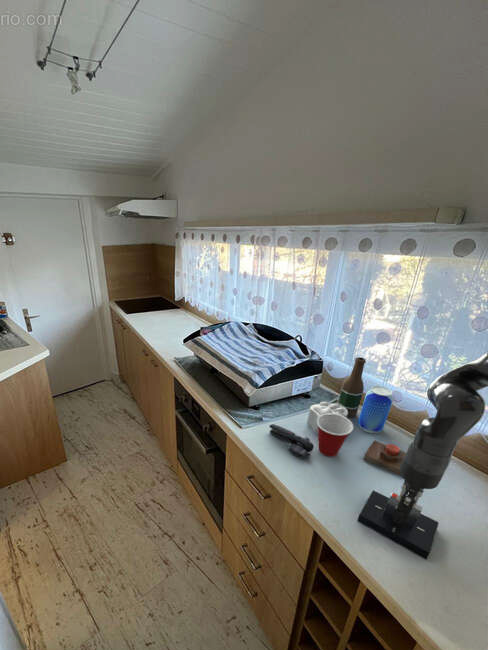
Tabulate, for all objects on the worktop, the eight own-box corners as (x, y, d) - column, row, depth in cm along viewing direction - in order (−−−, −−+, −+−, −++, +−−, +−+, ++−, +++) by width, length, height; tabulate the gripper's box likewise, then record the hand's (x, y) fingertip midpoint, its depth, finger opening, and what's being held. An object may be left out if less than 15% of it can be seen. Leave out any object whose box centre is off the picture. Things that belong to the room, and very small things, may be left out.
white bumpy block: (303, 420, 119) (307, 401, 115) (333, 416, 121) (337, 397, 117) (319, 437, 110) (324, 417, 106) (350, 432, 112) (356, 412, 108)
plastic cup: (304, 451, 103) (310, 422, 98) (319, 437, 110) (326, 409, 104) (335, 467, 96) (344, 437, 91) (350, 452, 103) (359, 422, 97)
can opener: (316, 454, 102) (319, 441, 99) (302, 462, 98) (305, 449, 96) (276, 428, 115) (278, 415, 112) (263, 434, 112) (264, 421, 109)
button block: (413, 461, 98) (417, 452, 96) (405, 478, 92) (410, 468, 90) (372, 445, 106) (375, 435, 104) (363, 459, 99) (366, 450, 97)
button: (399, 451, 97) (401, 447, 96) (396, 457, 95) (398, 453, 94) (386, 446, 99) (388, 442, 98) (383, 452, 97) (385, 447, 96)
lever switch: (435, 528, 77) (439, 521, 76) (426, 559, 70) (430, 552, 69) (370, 496, 86) (373, 489, 85) (357, 520, 79) (359, 513, 78)
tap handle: (414, 523, 75) (423, 506, 72) (413, 528, 74) (421, 510, 71) (385, 508, 79) (392, 491, 76) (383, 512, 78) (390, 495, 75)
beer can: (383, 425, 115) (396, 388, 108) (380, 437, 109) (394, 399, 102) (358, 418, 120) (369, 382, 112) (355, 429, 113) (366, 392, 106)
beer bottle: (331, 412, 123) (345, 358, 112) (340, 405, 128) (354, 352, 116) (351, 421, 118) (367, 364, 107) (359, 413, 123) (376, 358, 111)
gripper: (439, 489, 61) (412, 541, 69) (450, 454, 70) (425, 503, 78) (397, 470, 66) (375, 521, 74) (412, 440, 75) (392, 488, 83)
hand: (401, 512), depth 76 cm, fingers open, 7 cm apart
